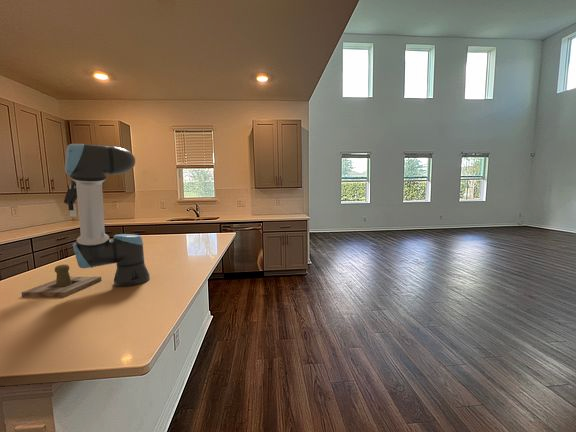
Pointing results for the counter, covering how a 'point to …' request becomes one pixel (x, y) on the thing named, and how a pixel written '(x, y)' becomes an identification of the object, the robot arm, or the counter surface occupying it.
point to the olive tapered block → (62, 276)
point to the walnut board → (52, 291)
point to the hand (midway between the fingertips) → (84, 215)
